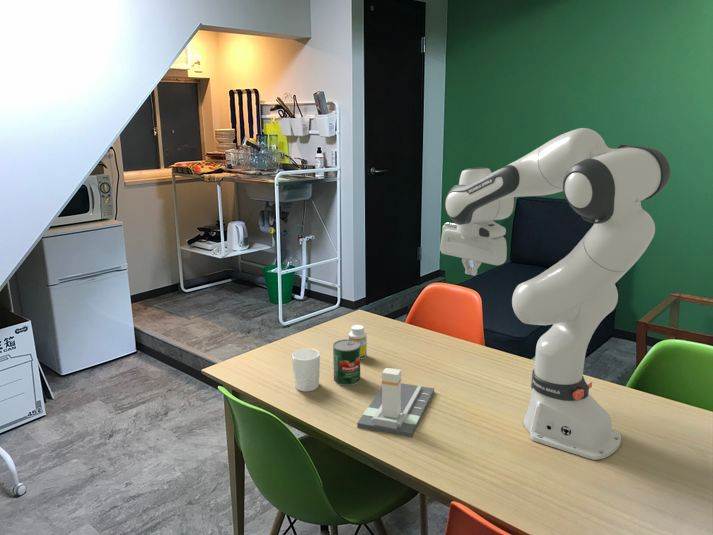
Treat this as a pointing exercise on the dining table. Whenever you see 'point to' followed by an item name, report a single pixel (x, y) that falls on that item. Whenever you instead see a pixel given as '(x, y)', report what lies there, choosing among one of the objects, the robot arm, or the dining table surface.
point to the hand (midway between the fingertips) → (470, 274)
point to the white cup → (306, 369)
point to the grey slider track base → (409, 418)
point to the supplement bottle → (359, 339)
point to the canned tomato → (346, 362)
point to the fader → (391, 392)
